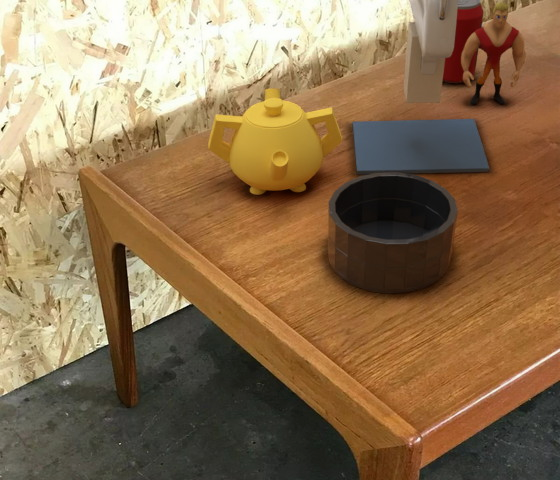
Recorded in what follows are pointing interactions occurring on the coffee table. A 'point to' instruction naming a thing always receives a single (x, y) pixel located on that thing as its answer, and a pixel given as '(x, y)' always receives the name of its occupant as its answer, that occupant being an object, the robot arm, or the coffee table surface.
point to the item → (420, 73)
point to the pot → (391, 232)
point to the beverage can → (463, 39)
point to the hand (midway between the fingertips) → (425, 62)
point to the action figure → (494, 51)
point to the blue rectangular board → (418, 146)
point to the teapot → (275, 143)
